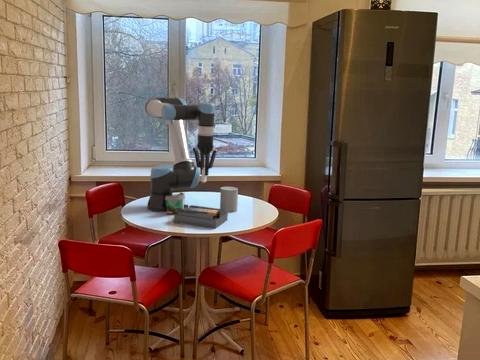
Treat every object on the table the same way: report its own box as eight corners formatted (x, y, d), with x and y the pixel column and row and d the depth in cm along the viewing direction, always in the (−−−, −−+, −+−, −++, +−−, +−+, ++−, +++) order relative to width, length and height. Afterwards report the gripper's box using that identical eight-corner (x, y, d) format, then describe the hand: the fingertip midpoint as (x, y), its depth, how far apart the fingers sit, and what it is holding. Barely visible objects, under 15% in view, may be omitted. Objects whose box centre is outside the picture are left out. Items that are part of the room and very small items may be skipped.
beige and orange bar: (181, 212, 236) (181, 209, 236) (186, 209, 241) (186, 206, 241) (215, 215, 231) (215, 212, 230) (219, 213, 235) (219, 210, 235)
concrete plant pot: (235, 213, 254) (236, 190, 251) (217, 211, 256) (218, 189, 253) (238, 209, 263) (239, 187, 260) (222, 207, 265) (222, 185, 262)
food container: (174, 216, 243) (174, 197, 241) (165, 214, 246) (165, 195, 244) (189, 211, 253) (189, 193, 251) (180, 210, 256) (180, 191, 254)
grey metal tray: (173, 222, 233) (174, 208, 231) (187, 214, 247) (188, 201, 246) (215, 228, 226) (216, 214, 224) (227, 220, 241) (227, 206, 239)
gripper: (190, 134, 231) (188, 181, 236) (215, 136, 226) (213, 184, 232) (196, 132, 237) (195, 178, 243) (221, 135, 233) (218, 181, 239)
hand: (204, 181), depth 237 cm, fingers closed
